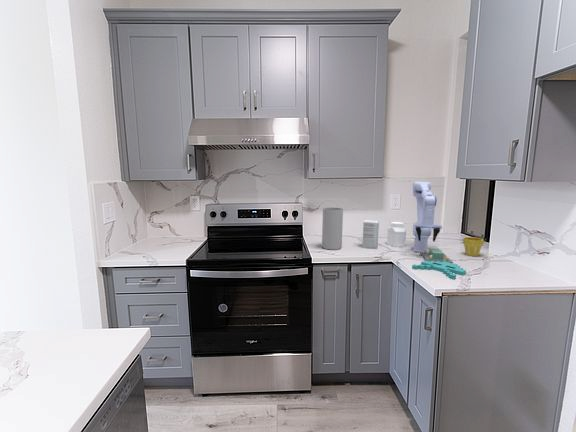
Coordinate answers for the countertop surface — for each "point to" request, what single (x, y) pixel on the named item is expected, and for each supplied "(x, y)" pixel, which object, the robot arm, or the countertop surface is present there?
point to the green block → (436, 253)
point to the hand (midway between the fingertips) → (426, 240)
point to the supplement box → (370, 234)
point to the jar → (396, 234)
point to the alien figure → (441, 268)
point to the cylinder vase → (332, 228)
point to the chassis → (429, 258)
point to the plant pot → (472, 245)
